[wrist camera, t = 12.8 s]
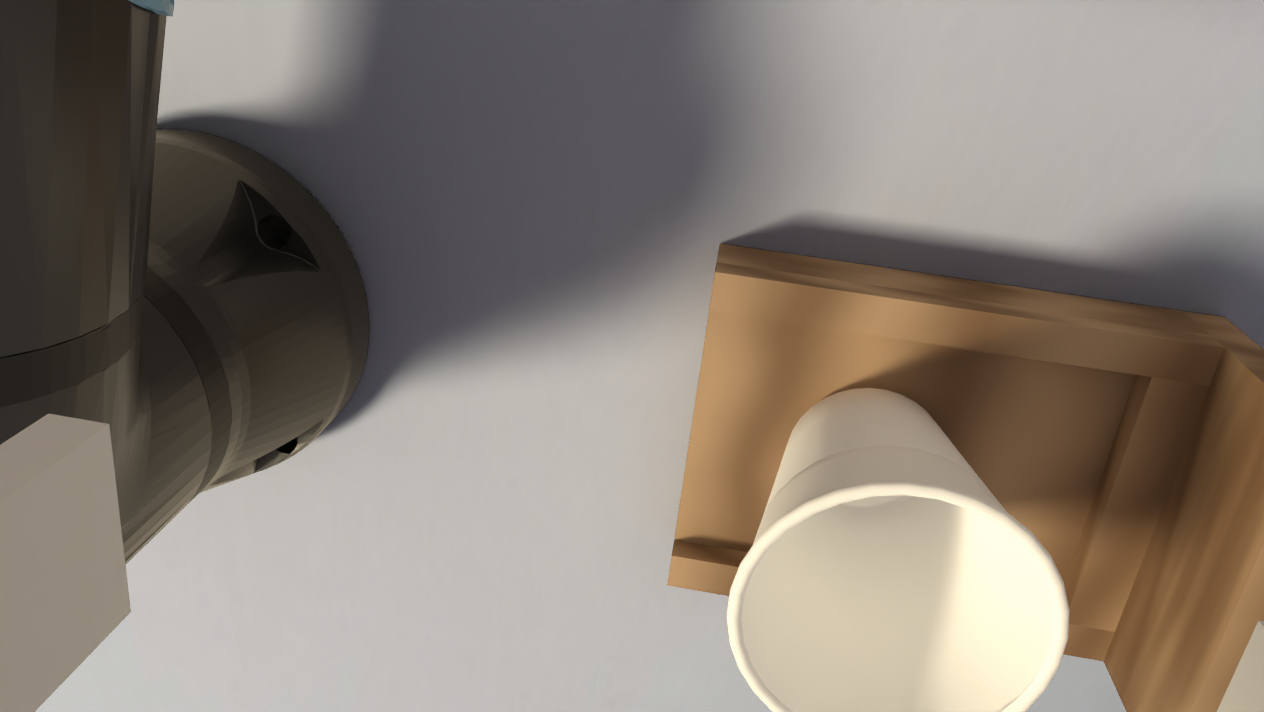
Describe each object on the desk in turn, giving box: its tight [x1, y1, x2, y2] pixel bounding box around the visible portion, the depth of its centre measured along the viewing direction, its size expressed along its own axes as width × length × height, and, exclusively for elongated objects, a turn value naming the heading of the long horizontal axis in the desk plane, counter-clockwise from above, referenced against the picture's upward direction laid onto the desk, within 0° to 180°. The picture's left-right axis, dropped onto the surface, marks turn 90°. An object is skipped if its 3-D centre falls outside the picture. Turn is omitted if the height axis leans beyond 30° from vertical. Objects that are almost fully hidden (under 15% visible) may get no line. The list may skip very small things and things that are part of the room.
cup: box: [727, 388, 1070, 712], centre depth 34 cm, size 10×10×11 cm
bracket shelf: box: [667, 244, 1264, 712], centre depth 37 cm, size 20×14×10 cm
